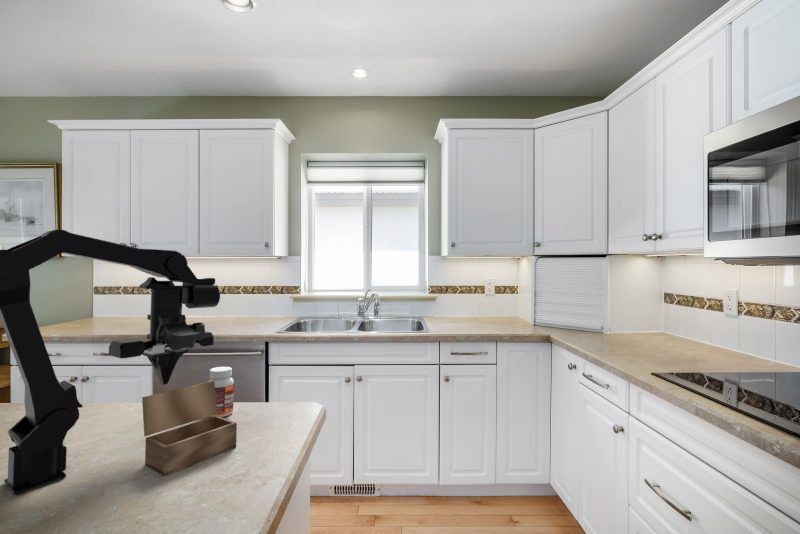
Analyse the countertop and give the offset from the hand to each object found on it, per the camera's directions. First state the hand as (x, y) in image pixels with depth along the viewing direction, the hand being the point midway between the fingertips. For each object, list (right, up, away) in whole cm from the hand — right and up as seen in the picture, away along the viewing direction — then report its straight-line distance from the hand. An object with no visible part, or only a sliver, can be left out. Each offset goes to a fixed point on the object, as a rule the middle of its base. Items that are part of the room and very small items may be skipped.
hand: (164, 384), depth 83 cm
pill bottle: (+4, -13, +16) cm, 21 cm away
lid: (+6, -3, -4) cm, 8 cm away
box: (+9, -12, -6) cm, 17 cm away
